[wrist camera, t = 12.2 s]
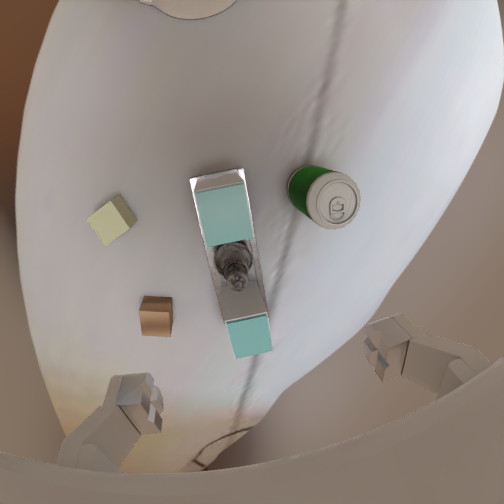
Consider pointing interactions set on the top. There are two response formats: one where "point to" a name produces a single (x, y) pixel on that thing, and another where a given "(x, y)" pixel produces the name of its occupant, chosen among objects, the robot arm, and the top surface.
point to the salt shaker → (233, 264)
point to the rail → (250, 243)
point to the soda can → (324, 196)
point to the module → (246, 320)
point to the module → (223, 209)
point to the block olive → (112, 220)
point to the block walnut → (156, 316)
